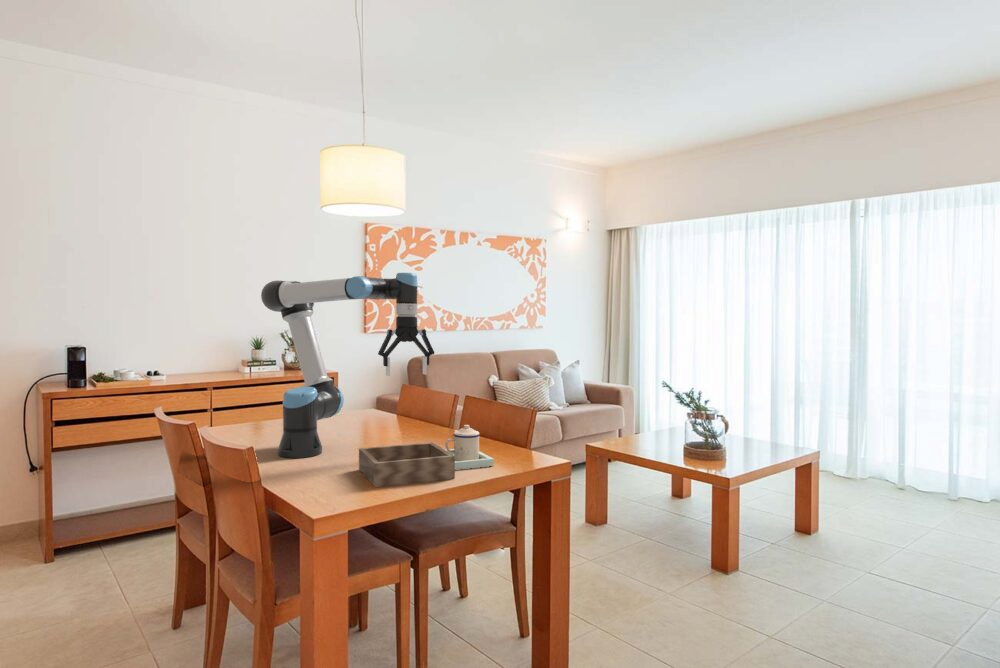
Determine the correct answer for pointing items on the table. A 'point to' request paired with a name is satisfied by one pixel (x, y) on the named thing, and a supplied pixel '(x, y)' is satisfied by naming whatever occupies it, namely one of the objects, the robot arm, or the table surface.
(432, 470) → the deep box
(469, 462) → the tray
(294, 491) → the table surface
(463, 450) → the teacup with lid
